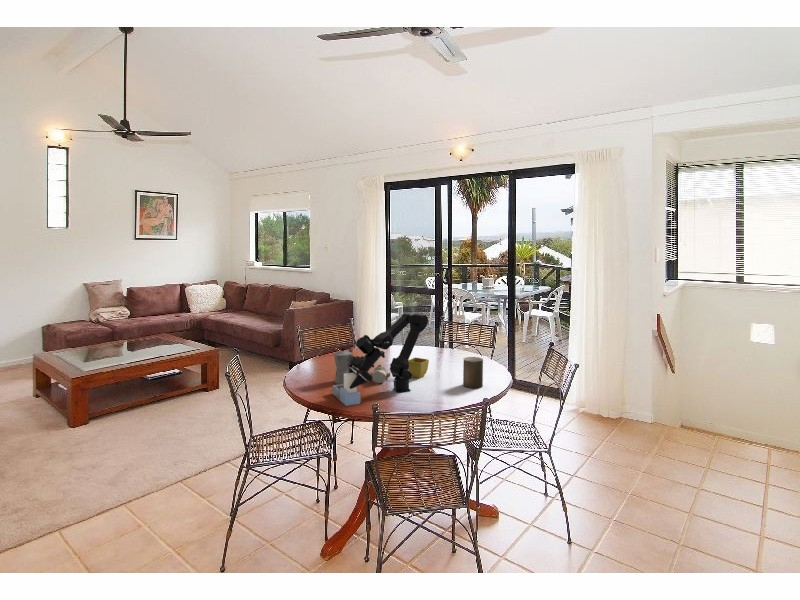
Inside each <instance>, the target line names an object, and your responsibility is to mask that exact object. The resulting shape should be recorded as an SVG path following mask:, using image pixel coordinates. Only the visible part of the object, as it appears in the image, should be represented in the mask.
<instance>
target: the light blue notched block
mask: <svg viewBox="0 0 800 600" xmlns="http://www.w3.org/2000/svg"><path fill="white" fill-rule="evenodd" d="M339 401H340V403H342V404H343V405H345V406H346V407H348V406H354V405H360V404H361V392H360V391H357V392H356V393H349V394H348V392H347V391H346V390H344V389H343V388H340V400H339Z"/></svg>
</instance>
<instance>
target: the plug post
mask: <svg viewBox="0 0 800 600" xmlns="http://www.w3.org/2000/svg"><path fill="white" fill-rule="evenodd" d="M355 378H356V374H354V373H347V374H344V390H346V391H347V392H348V394H349V393H356V392H358V388H357V387H358V386H357V387H355V388H353V389H350V388H349V387H350V386H351V384H352V383H353V381H354V380H355Z"/></svg>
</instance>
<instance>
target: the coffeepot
mask: <svg viewBox="0 0 800 600" xmlns="http://www.w3.org/2000/svg"><path fill="white" fill-rule="evenodd" d="M352 354H353V352H352V349H350V348H348V349H345V347H341V350H340V351H335V352H333V356H334V363H335V367H336V371H335V377H334V378H335V379H334V384H335V385H339V384H344V374H347V373H348V367H349V366H348V365H347V364H348V363H349V361H347V359H348V357H349V355H352Z"/></svg>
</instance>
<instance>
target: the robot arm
mask: <svg viewBox="0 0 800 600" xmlns="http://www.w3.org/2000/svg"><path fill="white" fill-rule="evenodd" d="M429 322H430V321H429V317H428V315H426V314H422V313H421V314H420V313H413V314H410V313H406V312H405V313H403V314H401V317H399V318H398V319H397V320H396V321H395V322H394V323H393V324H392V325H391V326H390V327H389V328H388V329H387V330H385V331H383V332H380V333H379V334H377V335H376V336H375V337H373V338H370V336H369V335H367V334H364V335H363V336H362V337H359V338H358V339H357V340H356V342H355V346H356V347H357V348H358V349H359V350H360V351H361V353H362V354H365V355H364V356H358V355H356V356H355V355H349V357H348V359H347V361H349V363H348V364H347V365H348V366H349V367H348V373H354V374H356V378H355V380H354V381H353V383H352V384H351V386H350V387H349V388H350V389H353V388H355V387H358V386H361V385H364V384H366V383H371V382H372V381H373V376H371V374H370V373H369V371H370V370H371V369H373V368H374V369H375V364H376V363H377V361H378V360H380V358H383V359H385V358H386V355H385V351H384V350H388V349H390V347H391V345H393V343H394V339H395V338H396V337H397V336H398V335H399V334H400V333H401V332H402V331H403V330H404V329H405V328H406V327H407V326H408V325H409V332H408V333H407V336H406V339H405V341H404V343H403V345H402V348H401V350H400V353H399V355H398V356H397V357H393V358H392V360H391V363H390V364H389V366H390V367H389V371H390V372H389V373H390V374H391V375H392V378H394V380H393V388H392V390H394V391H395V392H397V393H406V392H411V389H410V380H411V379H412V378H413V377H412V374H411V373H410V372H409V371H408V368H409V362H408V360H410V357H411V355H412V352H413V350H414V347H415V346H416V343H417V341H418V338H419V337H420V334H421V333H422V332H423V331H424V330H425V329H426V327H427V326H428V323H429ZM380 349H381V350H380Z"/></svg>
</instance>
